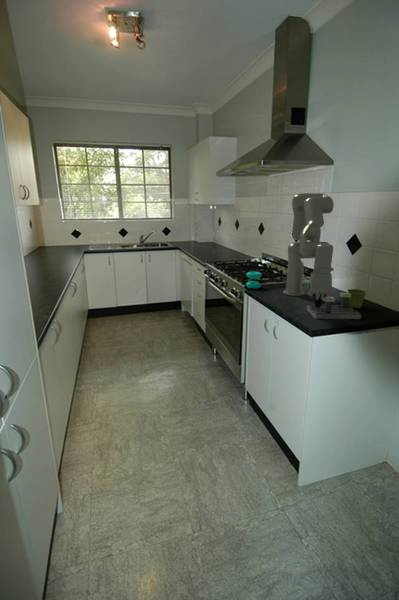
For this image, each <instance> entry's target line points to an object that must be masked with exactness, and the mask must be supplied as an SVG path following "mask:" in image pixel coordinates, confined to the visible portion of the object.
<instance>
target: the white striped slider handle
mask: <svg viewBox="0 0 399 600" xmlns="http://www.w3.org/2000/svg"><path fill="white" fill-rule="evenodd" d="M351 295H352V294H350V293H348V292H339V297H341V302H340V305H341V308H347V306H348V305H349V297H351Z"/></svg>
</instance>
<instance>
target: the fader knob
mask: <svg viewBox="0 0 399 600" xmlns="http://www.w3.org/2000/svg"><path fill="white" fill-rule="evenodd" d="M335 300H336V298H335V297H334V296H326V297H325V298H324V299H323V300H322V301H324V302H325V303H324V305H325V308H324V312H325V313H331V308H332V305H333V303H335V302H336V301H335Z"/></svg>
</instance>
